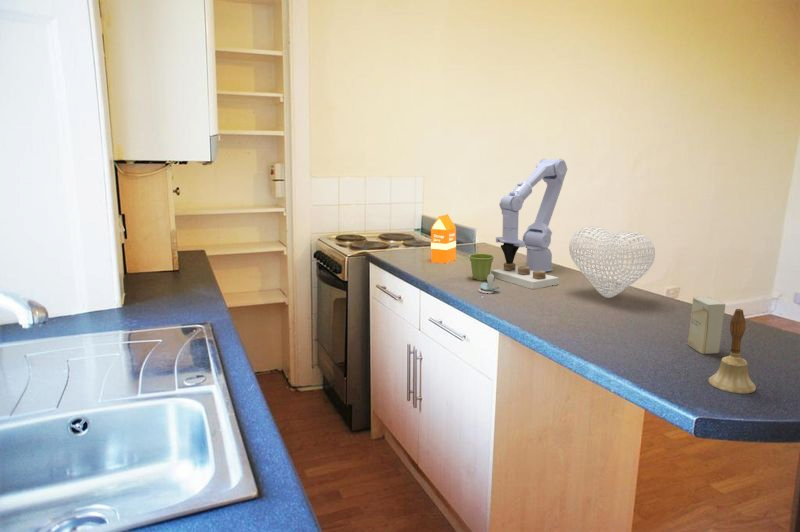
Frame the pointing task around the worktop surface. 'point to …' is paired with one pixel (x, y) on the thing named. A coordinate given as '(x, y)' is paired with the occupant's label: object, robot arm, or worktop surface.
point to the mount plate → (524, 278)
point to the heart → (616, 236)
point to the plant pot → (481, 265)
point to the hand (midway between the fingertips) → (509, 263)
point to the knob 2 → (539, 274)
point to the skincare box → (706, 325)
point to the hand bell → (734, 362)
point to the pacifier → (489, 284)
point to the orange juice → (443, 240)
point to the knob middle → (523, 270)
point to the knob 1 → (509, 266)
